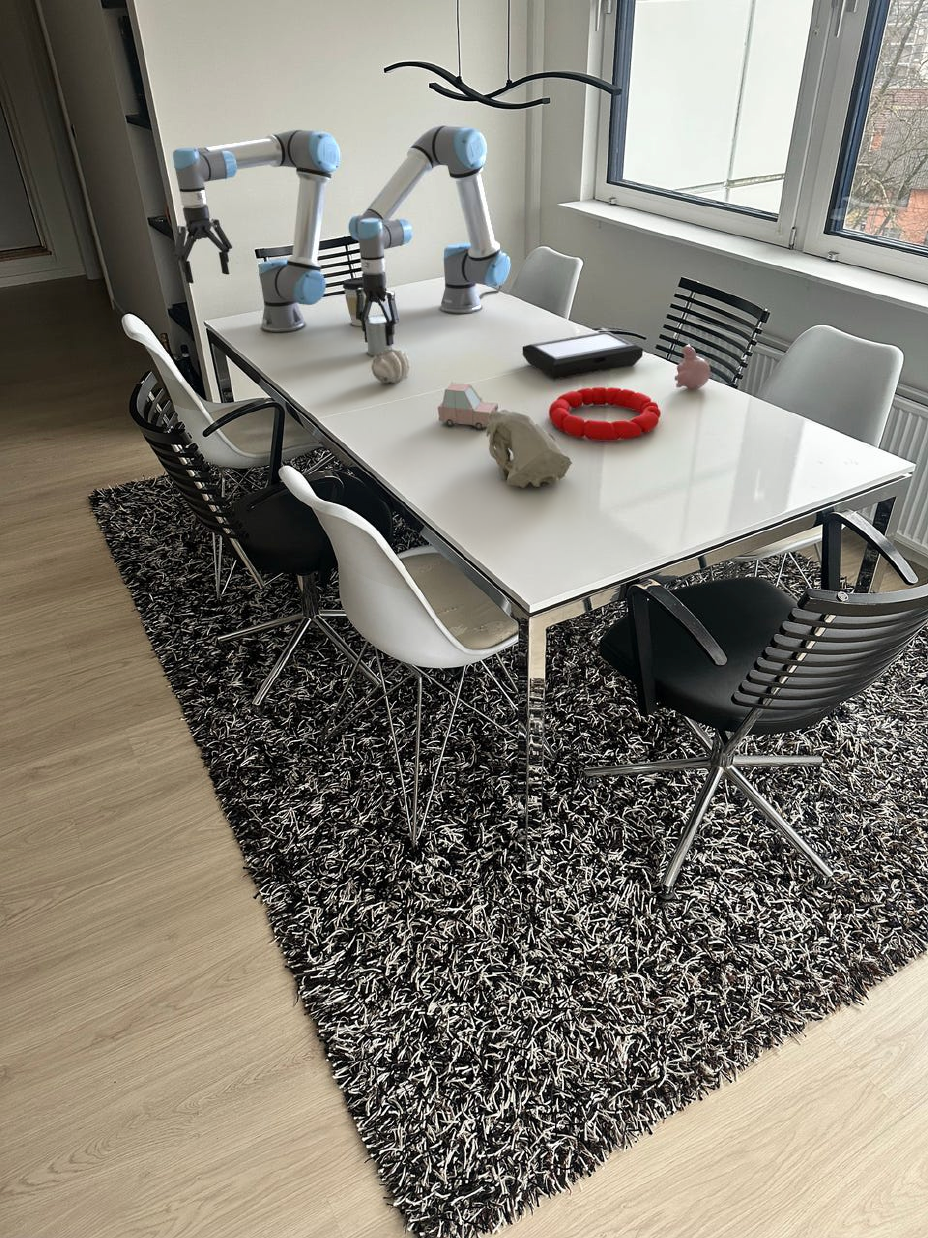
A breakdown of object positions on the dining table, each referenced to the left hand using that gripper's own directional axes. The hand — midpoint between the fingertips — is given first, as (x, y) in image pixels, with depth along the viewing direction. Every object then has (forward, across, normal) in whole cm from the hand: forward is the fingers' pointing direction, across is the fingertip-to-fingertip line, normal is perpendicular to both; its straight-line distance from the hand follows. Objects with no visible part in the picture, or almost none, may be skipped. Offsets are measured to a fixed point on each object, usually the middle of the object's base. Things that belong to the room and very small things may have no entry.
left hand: (208, 278), depth 283 cm
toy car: (+26, +8, -102) cm, 105 cm away
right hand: (+23, +36, -38) cm, 57 cm away
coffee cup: (+26, +56, -8) cm, 62 cm away
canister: (+26, +36, -38) cm, 59 cm away
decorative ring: (+26, +31, -131) cm, 137 cm away
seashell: (+26, +18, -62) cm, 70 cm away
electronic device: (+26, +66, -99) cm, 122 cm away
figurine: (+26, +68, -137) cm, 155 cm away
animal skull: (+26, -7, -132) cm, 135 cm away
